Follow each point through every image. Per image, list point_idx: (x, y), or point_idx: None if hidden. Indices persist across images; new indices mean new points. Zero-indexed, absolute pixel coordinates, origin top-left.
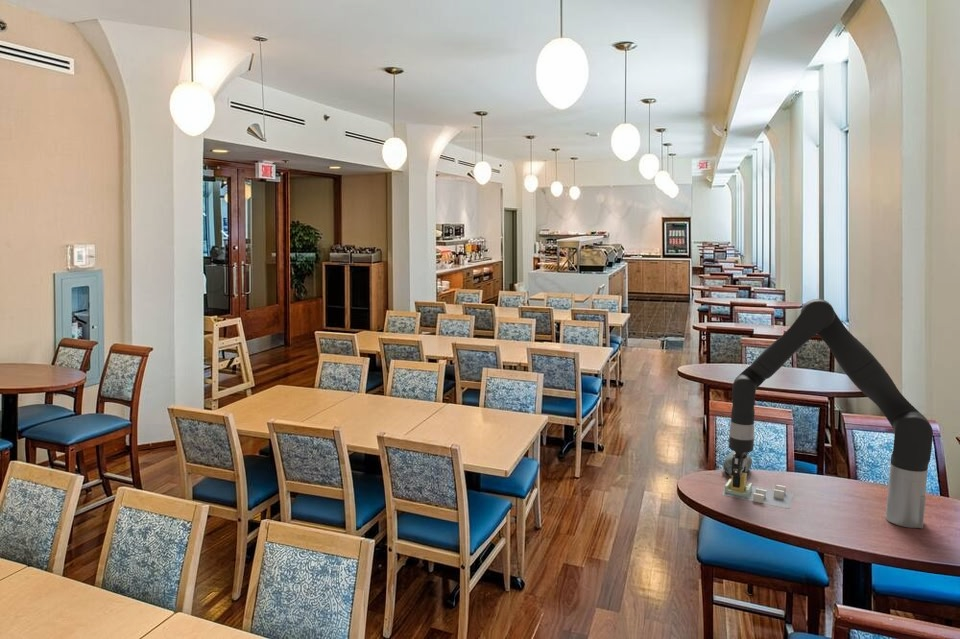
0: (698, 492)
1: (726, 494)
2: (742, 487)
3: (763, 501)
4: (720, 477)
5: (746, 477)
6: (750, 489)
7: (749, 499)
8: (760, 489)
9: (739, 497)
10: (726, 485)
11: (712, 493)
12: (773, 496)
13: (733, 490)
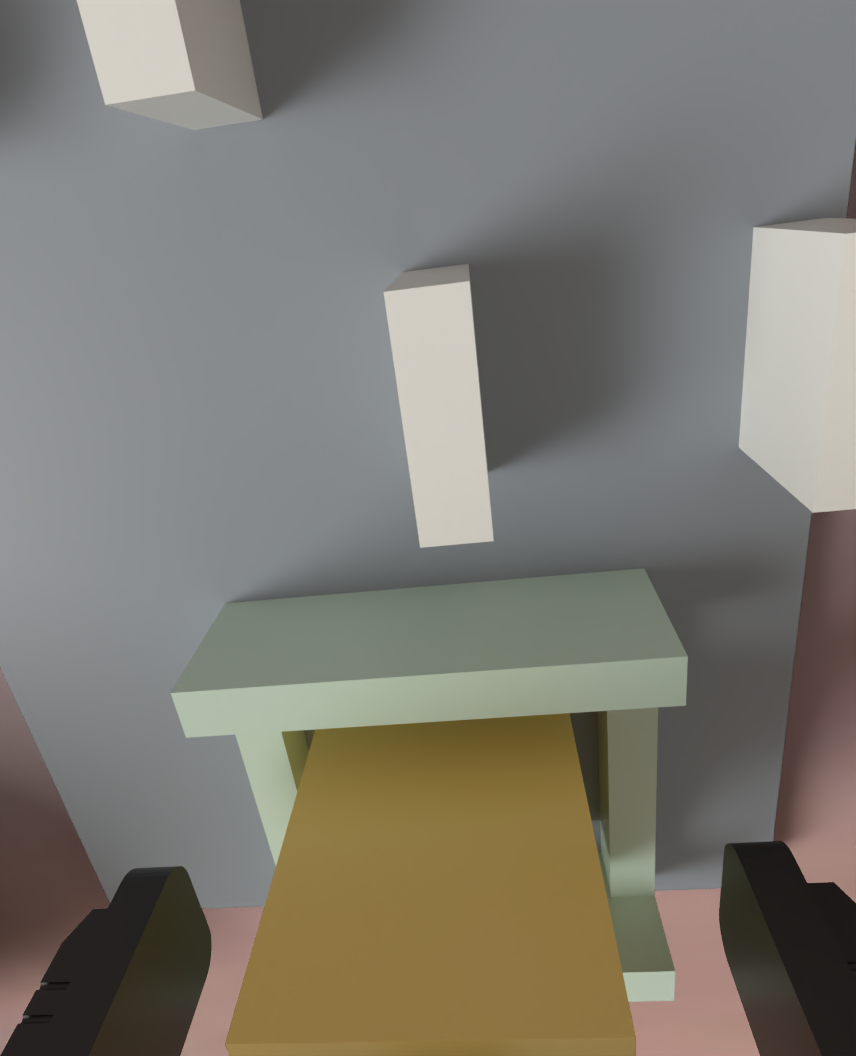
0: (738, 1052)
1: (716, 844)
2: (581, 780)
3: (786, 224)
4: (32, 994)
5: (277, 916)
6: (384, 630)
7: (749, 516)
8: (440, 442)
9: (744, 675)
10: (656, 986)
11: (674, 950)
12: (255, 114)
13: (611, 829)
